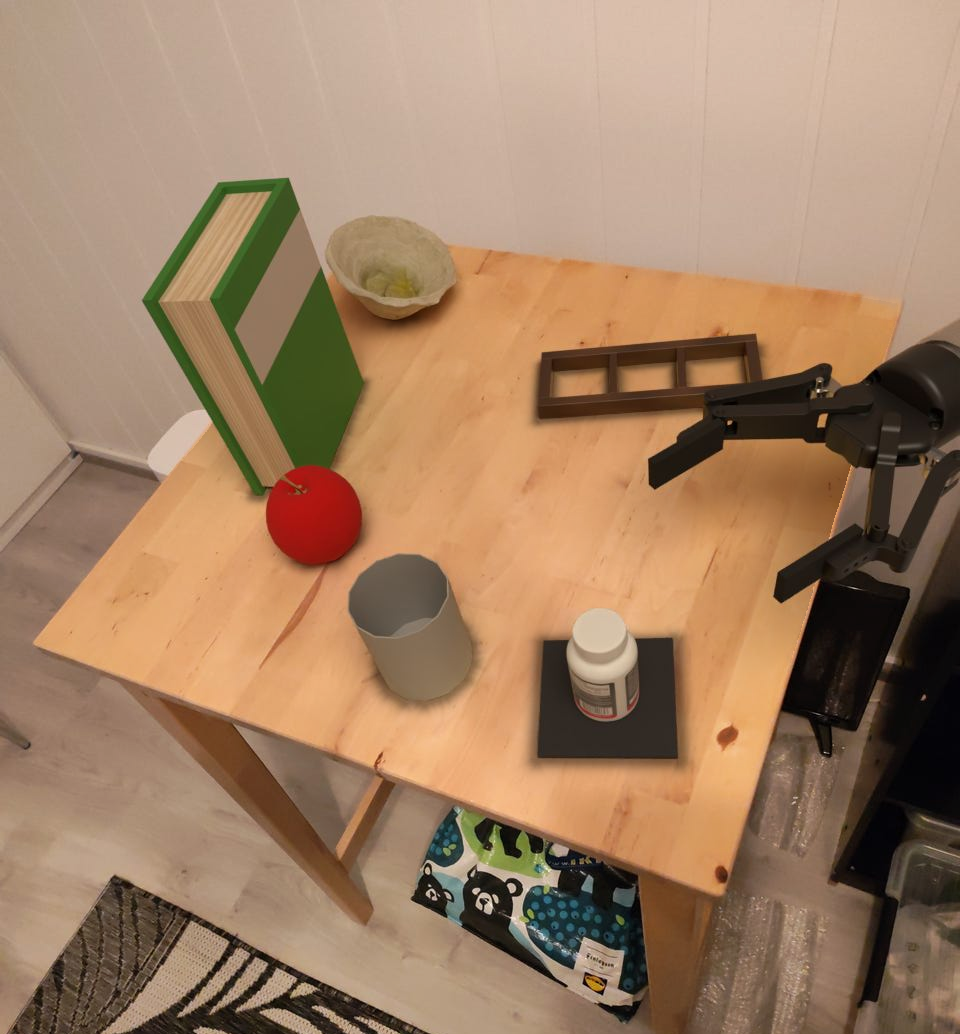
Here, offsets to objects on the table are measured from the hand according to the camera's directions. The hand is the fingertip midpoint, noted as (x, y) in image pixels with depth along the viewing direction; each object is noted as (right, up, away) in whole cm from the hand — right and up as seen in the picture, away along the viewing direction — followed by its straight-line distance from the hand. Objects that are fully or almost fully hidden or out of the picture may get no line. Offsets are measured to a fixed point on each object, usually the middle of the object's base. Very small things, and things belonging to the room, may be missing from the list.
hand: (710, 528), depth 59 cm
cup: (-21, -10, +16) cm, 28 cm away
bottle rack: (+2, +19, +30) cm, 36 cm away
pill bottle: (-6, -13, +10) cm, 17 cm away
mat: (-6, -13, +11) cm, 17 cm away
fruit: (-32, +2, +26) cm, 41 cm away
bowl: (-25, +33, +45) cm, 61 cm away
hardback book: (-35, +15, +35) cm, 52 cm away
